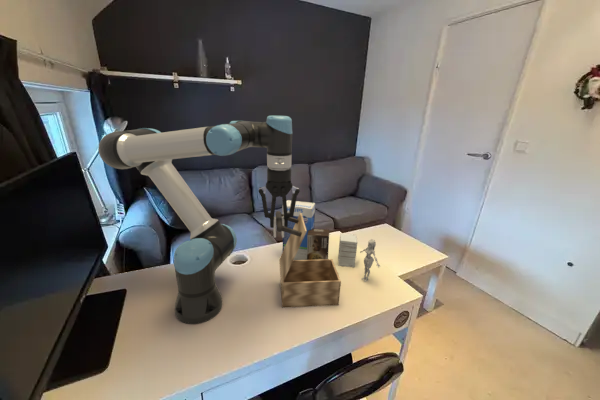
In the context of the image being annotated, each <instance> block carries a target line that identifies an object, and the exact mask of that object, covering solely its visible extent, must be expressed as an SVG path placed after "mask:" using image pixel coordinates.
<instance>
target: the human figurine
mask: <svg viewBox="0 0 600 400" xmlns="http://www.w3.org/2000/svg"><path fill="white" fill-rule="evenodd" d="M367 243H368V244H367V246H366V248H364V249H363V250H362V251H360V252H359V253H360V254H361V253H363V252H365V253H366V255H365V257H364V259H363V264H364V277H362V278H361V280H363V283H364V282H369V280H370V279H369V277H370V274H371V270H370V269H371V268H372V266H373V263H374V261H375V262H376V267H377V268H381V265H380V264H379V262H378V258H377V257H376V250H375V249H376V245H377V244H376V240H375V239H372V238H371V239H369V240H368V242H367ZM372 255H373V256H372Z"/></svg>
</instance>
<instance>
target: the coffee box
mask: <svg viewBox="0 0 600 400" xmlns="http://www.w3.org/2000/svg"><path fill="white" fill-rule="evenodd" d="M329 244H330V229H327V228H326V229H324V228H314V229H313V228H312V230H309V231H308V234H307V260H321V259H329Z"/></svg>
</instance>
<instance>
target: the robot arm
mask: <svg viewBox="0 0 600 400" xmlns="http://www.w3.org/2000/svg"><path fill="white" fill-rule="evenodd" d="M292 122H293V120H292V118H291V117H290V116H288V115H268V116H267V117H266V121H262V122H261V121H248V120H231V121H230V122H229V123H222V124H217V125H211V126H203V127H196V128H188V129H179V130H172V131H165V132H161V131H160V130H158V129H155V128H149V127H148V128H147V127H142V128H141V127H139V128H137V129H131V130H121V131H120V130H119V131H112V132H110V133H108V134H106V135H104V136H103V137H102V138H101V139H100V141H99V143H98V149H97V150H98V154H99V157H100V158H101V160H102V161H103V162H104V163H105V165H107V166H109V167H110V168H114V169H116V170H117V169H118V170H128V169H132V168H136V169H137V171H138V172H139V173H140V175H143V176H146V177H149V178H150V179H151V181H152V182H153V184H154V185H155V186H156V188H157V189H158V190H159V192H160V194H161V195H162V196H163V197H164V198H165V200H166V201H167V203H169V206H171V208H172V209H173V210H174V212H175V213H176V214H177V216H178V217H179V218H180V220H181V221H182V222H183V223H184V225H185V226H186V228H187V229H188V231H189V232H190V237H189V239H190V240H186V241H184V242H182V243H181V244H180V245H178V246H177V247H176V249H175V251H174V254H173V266H174V270H175V278H176V284H177V291H178V292H177V296H176V298H175V299H176V300H175V304H174V312H175V313H174V314H175V317H176V319H177V320H178V321H180V322H181V323H185V324H193V325H196V324H202V323H206V322H207V321H209V320H211V319H213V318H214V317H216V316H217V315H218V314H219V313H220V311H221V310H222V308H223V296H222V294H221V292H220V289H219V288H218V286H217V283H216V271H217V269H219V267H220V266H222V264H223V263H224V261H225V260H226V259H228V257H230V256H231V255H232V253H233V251H234V250H235V249H236V247H237V243H238V239H237V234H236V233H235V231H234V229H233V228H232V227H231V226H229V225H227V224H225V223H221V222H220V220H219V219H217V218H212V217H211V215H210V213H208V211H207V209H206V208H205V207H204V206H203V205H202V203H201V202H200V200H199V199H198V197H197V196H196V194H194V192H193V191H192V189H191V188H190V186H189V185H188V184H187V183H186V181H185V179H184V177H183V176H181V174H180V173H179V171H178V170H177V168H176V167H175V166H174V164H173V163H172V162H173V160H177V159H186V158H195V157H207V156H214V155H215V156H221V157H225V156H230V155H234V154H235V153H237V152H240V151H242V150H245V149H248V148H266V164H267V166H266V167H268V168H267V169H266V182H265V185H264V186H262V187H258V193H259V195H260V197H261V202H262V208H263V214H264V219H265V218H266V219H267V218H268V219H269V222H270V223H269V224H270V225H269V228H272V229H273V238H277V229H276V216H275V214H276V211H275V210H276V203H277V198H278V197H279V198H282V199H281V200H282V206H283V212H284V217H282V225H283V226H285V227H287V226H288V218H290V217H293V215H294V209H295V204H296V201H297V198H298V195H299V193H300V192H301V191H300V188H299V187H298V186H294V185H293V183H292V169H291V168H292V156H293V155H292V151H293V150H292V148H293V147H292V146H293V145H292V144H293V133H294V132H293V123H292ZM267 191H268V192H269V194H270V195H271V201H270V202H271V203H270V204H271V206H270V212H269V209H268V204H267V201H268V200H267V197H266V193H267ZM290 191H291V195H292V196H291V205H290V211H289V213H287V203H286V201H287V195H288V194H289V192H290ZM280 233H281V238H282V239H283V238H284V231H281V232H280Z"/></svg>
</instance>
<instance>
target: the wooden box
mask: <svg viewBox="0 0 600 400" xmlns="http://www.w3.org/2000/svg"><path fill="white" fill-rule="evenodd" d="M279 281H280V282H279V283H280V297H281V299H280V300H281V308H282V309H283V308H285V309H286V308H301V307H302V308H303V307H304V308H305V307H325V306H326V307H329V306H339V305H340V295H341V286H342V285H341V284H342V280H341V278H340V276H339V273H338V270H337V268H336V266H335V263H334V261H333V259H332V258H328V259H321V260H293V262H292V264H291V266H290V269H289V271H288V273H287V275H286V277H285V279H284V281H283V284H282V283H281V279H280V280H279Z"/></svg>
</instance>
